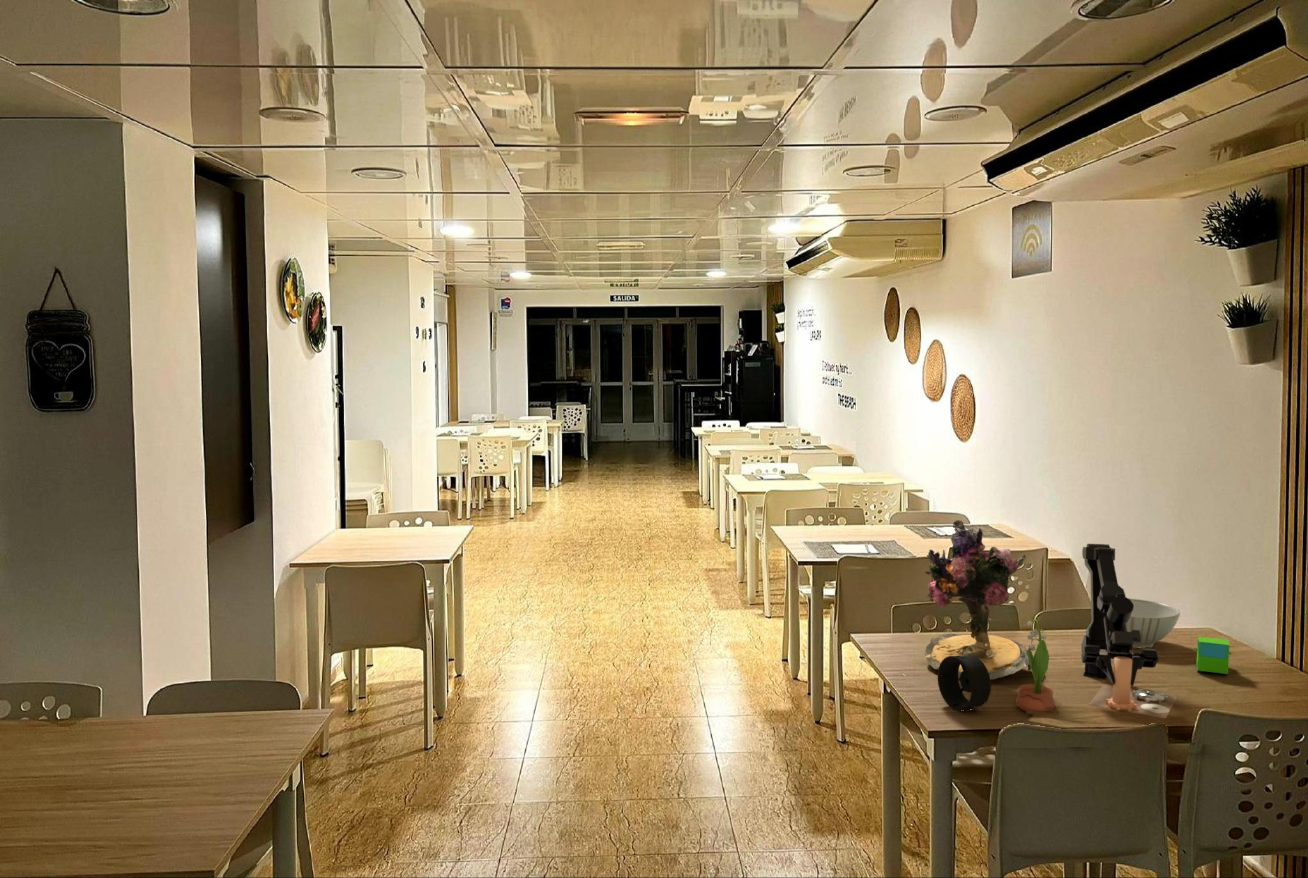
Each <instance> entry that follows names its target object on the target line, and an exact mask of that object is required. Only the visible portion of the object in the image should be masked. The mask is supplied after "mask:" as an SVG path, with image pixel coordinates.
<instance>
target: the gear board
mask: <svg viewBox="0 0 1308 878" xmlns="http://www.w3.org/2000/svg"><path fill="white" fill-rule="evenodd" d="M1137 690H1138V689H1132V688H1131V694H1130V701H1132V700H1133V701H1135V704H1137V708H1136V709H1132V710H1131V711H1127V710H1119V711H1121V712H1125V713H1132V714H1138V715H1143V716H1149V717H1154V718H1161V719H1167V717H1168V716H1169V714H1170V712H1171V709H1172V708H1173V706H1174V704H1175V702H1176V700H1177V698H1178V696H1174V695H1170V694H1165V696H1168V701H1167V702H1165V701H1164V702H1162V703H1161V704H1159V703H1151V702H1150V703H1146V702H1145V701H1141V700H1136V699H1135V696H1132V692H1133V691H1137ZM1112 695H1113V685H1110V684H1103V685H1102V686H1101V687H1100V689H1099V690H1098V692H1097V693H1096V694H1095V695H1094V697H1093V699H1091V701H1090V703H1088V705H1089V706H1093V707H1099V708H1103V709H1104V708H1105V709H1110V710H1116V709H1114V708H1112V707H1111V708H1109V707H1107V704H1106V699H1110V698H1111V697H1112ZM1116 711H1117V710H1116Z"/></svg>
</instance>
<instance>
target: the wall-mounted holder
mask: <svg viewBox="0 0 1308 878" xmlns="http://www.w3.org/2000/svg"><path fill="white" fill-rule="evenodd" d="M960 664H961V666H962V669H963V671H962V673H961V675H960V678H958V672H959V667H960ZM991 682H992V681H991V680H990V676H989V673H988V670H987V668H986V666H985V665H984V663H983V662H982V661H981V660H980V659H979V658H977V657H976V656H973V655H965V656H948V657H946V658H945V659H943V660H942V662H941V664H940V666H939V669H937V685H938V690H939V692H940V695H941V697H942V699H943V700H944V702H945V703H946V704H947V705H948V707H950V708H951V709H952V708H953V709H952V710H954V709H956V710H955V711H957V710H958V711H957V712H962V711H961V710H964V711H963V712H967V711H966V710H970V709H973V710H975V708H977V707H982V706H983V705H985V704H986V703H987V702H988V700H989V698H990V696H991V692H992V683H991ZM964 692H965V693H968V694H970V696H969V699H967V697H966V695H965V694H964ZM970 711H971V710H970Z"/></svg>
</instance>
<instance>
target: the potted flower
mask: <svg viewBox="0 0 1308 878" xmlns="http://www.w3.org/2000/svg"><path fill="white" fill-rule="evenodd" d="M1038 620H1039V621H1038ZM1040 621H1041V618H1040V617H1037V619H1036V618H1035V619H1031V620H1028V621H1027V625H1026V626H1028V627H1031V631H1030V632H1029V633H1028V635H1027V638H1026V639H1027V640H1031V643H1030V645H1028V649H1027V650H1028V660H1029V665H1030V668H1031V670H1030V671H1031V673H1032V676H1033V679H1034V682H1033V683H1034V684H1032V683H1030V684H1023V685H1022V684H1021V685H1020V686H1019V687H1018V693H1017V696H1016V699H1015V703H1016V705H1017V707H1018V709H1020V710H1022V711H1023V712H1028V711H1029V710H1030V711H1037V712H1047V711H1048V712H1049V711H1052V710H1054V709H1055V708H1056V701H1055V699H1054V697H1053V695H1054V690H1053V689H1052V688H1050V687H1048V686H1044V685H1042V682H1043V680H1044V677H1045V676H1046V673H1047V672H1048V669H1049V659H1050V655H1049V650H1048V648H1047V644H1046V641H1045V640H1047V634H1046V633H1044V632H1045V630H1044V629H1045V628H1041V627H1040ZM1035 622H1036V624H1035V628H1034V623H1035ZM1037 637H1038V638H1037ZM1034 640H1036V641H1038V644H1037V647H1036V646H1035V645H1034V644H1032V643H1033V641H1034ZM1033 651H1035V653H1034V655H1033Z"/></svg>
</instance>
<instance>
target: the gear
mask: <svg viewBox="0 0 1308 878" xmlns="http://www.w3.org/2000/svg"><path fill="white" fill-rule="evenodd" d="M1136 690H1137V691H1133V692H1132V696H1135V699H1136V700H1141V701H1145V702H1146V703H1150V702H1151V703H1159V704H1161V703H1162V702H1164V701H1165V702H1167V701H1168V696H1165V695H1166V693H1165V692H1160V691H1157V690H1155V689H1144V688H1143V689H1142V688H1137V689H1136Z"/></svg>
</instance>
